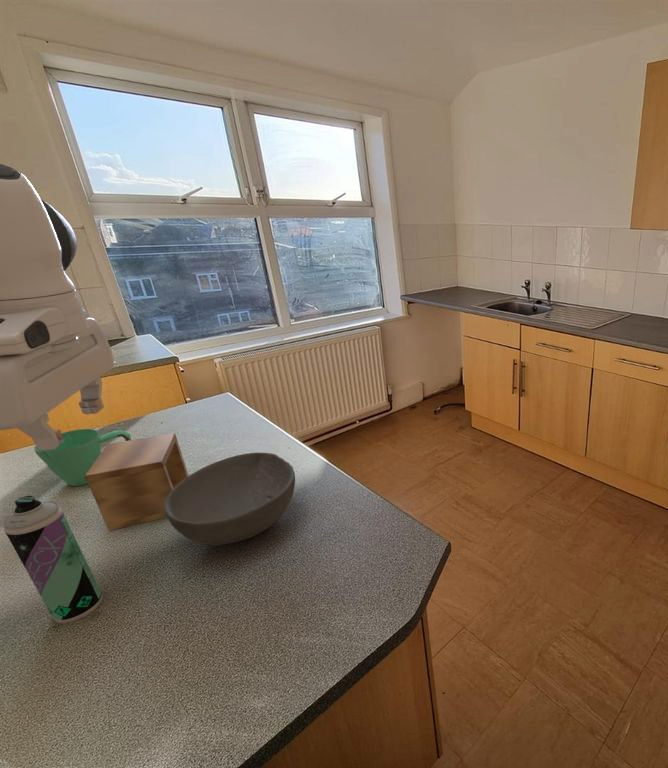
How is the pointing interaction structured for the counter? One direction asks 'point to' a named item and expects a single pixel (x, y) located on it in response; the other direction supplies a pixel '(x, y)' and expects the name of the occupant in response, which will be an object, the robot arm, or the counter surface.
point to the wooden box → (136, 479)
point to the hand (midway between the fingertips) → (74, 428)
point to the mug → (77, 454)
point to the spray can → (53, 559)
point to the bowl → (231, 498)
